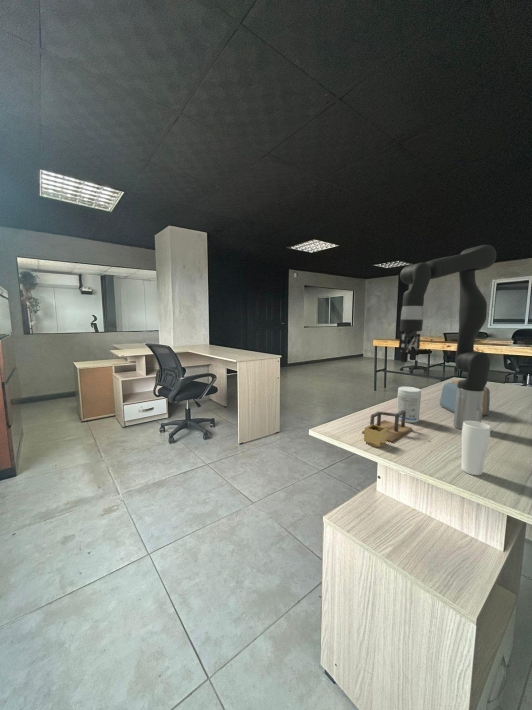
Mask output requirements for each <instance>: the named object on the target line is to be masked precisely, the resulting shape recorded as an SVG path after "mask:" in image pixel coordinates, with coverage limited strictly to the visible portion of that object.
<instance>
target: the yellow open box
mask: <svg viewBox="0 0 532 710" xmlns="http://www.w3.org/2000/svg"><path fill="white" fill-rule="evenodd" d="M375 430H378V431H375ZM363 431H364V434H363V442H368V443H371V444H374V445H377V446H381V445H382V444H384V443H388V442H387V433H388V429H387V428H384V427H380V426H377V425H375V424H374V425H373V424H372V425H370V424H369V425H368V426H366V427H365V428H364V430H363Z"/></svg>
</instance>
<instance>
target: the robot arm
mask: <svg viewBox="0 0 532 710" xmlns="http://www.w3.org/2000/svg"><path fill="white" fill-rule="evenodd" d="M496 259H497V251H496V249H495V247H493V246H492V245H489V244H482V245H477V246H474V247H469V248H466V249H463V251H461V252H460V254H455V255H451V256H444V257H440V258H435V259H432V260H428V261H425V262H418V263H415V264H409V265H407V266H405V267H403V269H401V271H400V273H399V278H400V281H401V282H402V283H403V284H405V285H411V287H410V289H409V290H406V291H404V293H403V295H402V306H401V311H400V325H399V326H400V327H399V330H400V332H404V333H403V334H402V333H401V334H400V335H399V343H398V351H400V352H401V353H400V362H401V363H407V362H408V361H416V360H417V351H418V350H419V349H420V345H421V344H420V343H421V333H418V332H422V331H423V324H424V323H423V322H424V303H425V295H426V292H427V289H428V286H429V284H430V281H431V280H434V279H439V278H442V277H443V278H444V277H446V276H450V275H453V274H455V273H458V277H459V309H458V311H459V312H458V333H457V334H458V339H457V344H456V345H457V346H456V350H455V351H456V352H455V356H454V357H455V358H454V361H455V362H454V363H455V366H456V368H457V370H459V371H461V372H465V373H467V377H466V378H465V379H459V380H460V381H458V385H457V395H456V404H455V413H453V427H454V428H456V429H458V430H461V431H462V426H463V422H464V421H477V422H481V423H482V422H483V415H482V412H483V407H482V402H483V394H484V387H486V385H487V383H488V378H489V374H490V368H491V359H490V356H489V355H488V354H487V353H485V352H483V351H476V350H475V349H474V347H475V340H476V337H477V336H478V333H479V332H480V331H481V329H482V328H483V326H484V324H485V322H486V320H487V312H488V304H487V303H488V302H487V300H486V298H485V295H484V294H483V293H482V291H481V290H480V288H479V287H478V285H477V281H476V271H481V270H482V271H483V270H485V269H488V268H490V267H492V266H493V265H494V263H495V262H496ZM408 358H409V360H408Z"/></svg>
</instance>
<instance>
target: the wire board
mask: <svg viewBox="0 0 532 710" xmlns="http://www.w3.org/2000/svg"><path fill="white" fill-rule="evenodd" d="M401 415H402V420H401V421H400V420H399V416H401ZM382 416H390V417H394V421H389V420H385V419H383V420H381V419H382ZM405 417H406V412H405V410H402V411H400V412H398V413H395V412H387V411H377V412H375V413H373V414H371V415H370V421H369V422H370V423H369V426H370V425H372V424H373V425H377V426H380V427H384V428H387V429H388V433H387V441H388V442H387V443H390V442H391V444H393V443H394V442H396V441H397V440H399V439H400V438H401V437H403V436H404V435H406V434H407V433H410V432H411V431H412V429H413V427H411V426H407V425H406V422H405ZM375 418H376V424H375ZM399 421H400V423H399ZM361 433H362V434H363V435H364V430H362V431H361ZM392 442H393V443H392Z"/></svg>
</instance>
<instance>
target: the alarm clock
mask: <svg viewBox="0 0 532 710" xmlns="http://www.w3.org/2000/svg"><path fill="white" fill-rule="evenodd" d="M460 380H461V379H457V380H456V379H454V380H451V382H447V383H444V385H443V386H442V390H441V393H440V394H441V395H440V399H439V405H440V407H441V406H442V407H441V408H444V409H445V410H448V411H449V412H452V413H453V414H455V404H456V395H457V385H458V381H460ZM490 396H491V395H490V389H489V388H488V387H487V386H485V387H484V394H483V402H482V407H483V412H482V416H488V415H489V413H490V405H491V404H490V401H491V400H490V399H491V398H490Z"/></svg>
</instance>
